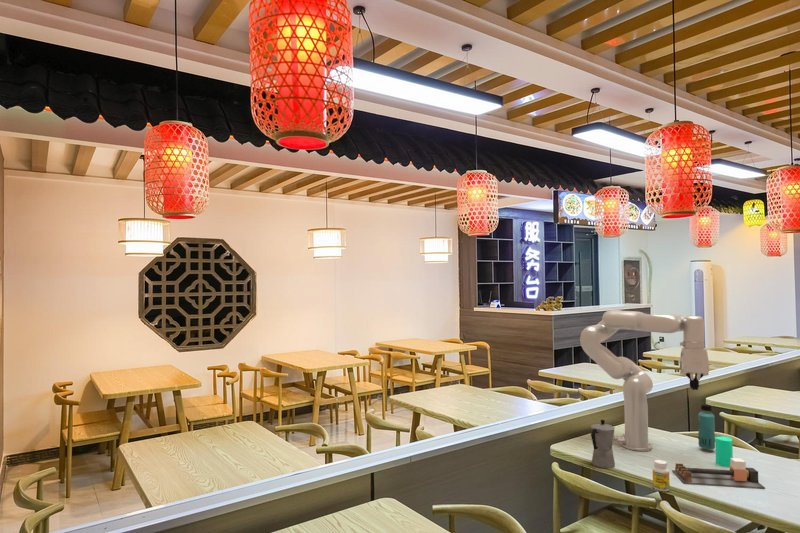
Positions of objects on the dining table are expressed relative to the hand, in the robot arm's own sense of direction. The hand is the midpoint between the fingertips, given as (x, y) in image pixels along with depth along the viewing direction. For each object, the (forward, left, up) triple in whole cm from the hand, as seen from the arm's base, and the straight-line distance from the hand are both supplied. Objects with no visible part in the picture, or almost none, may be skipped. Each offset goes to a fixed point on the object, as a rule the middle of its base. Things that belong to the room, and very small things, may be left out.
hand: (694, 389), depth 215 cm
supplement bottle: (-24, -35, -29) cm, 52 cm away
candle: (+9, -5, -29) cm, 31 cm away
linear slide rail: (-1, -23, -29) cm, 37 cm away
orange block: (+6, -23, -28) cm, 37 cm away
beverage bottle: (+9, +12, -29) cm, 33 cm away
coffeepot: (-40, -14, -29) cm, 51 cm away
